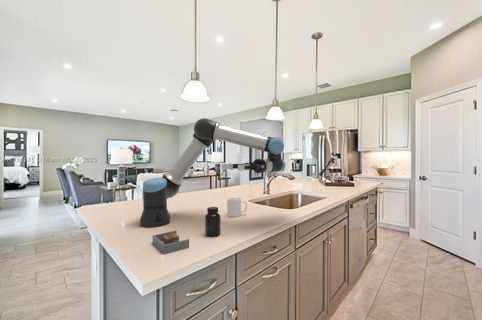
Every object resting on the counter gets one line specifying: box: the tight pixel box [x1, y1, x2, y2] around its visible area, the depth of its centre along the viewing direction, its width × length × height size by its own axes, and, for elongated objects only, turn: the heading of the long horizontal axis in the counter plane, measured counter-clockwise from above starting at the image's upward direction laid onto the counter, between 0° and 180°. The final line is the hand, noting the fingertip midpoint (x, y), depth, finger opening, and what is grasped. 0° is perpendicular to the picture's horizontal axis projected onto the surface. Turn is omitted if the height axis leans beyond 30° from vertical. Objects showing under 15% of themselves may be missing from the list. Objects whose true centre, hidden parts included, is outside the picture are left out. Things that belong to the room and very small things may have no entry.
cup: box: [226, 197, 248, 218], centre depth 131 cm, size 8×12×10 cm
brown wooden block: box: [162, 233, 180, 245], centre depth 88 cm, size 5×5×4 cm
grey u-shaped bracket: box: [152, 230, 190, 255], centre depth 87 cm, size 10×14×3 cm
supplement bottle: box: [204, 206, 221, 238], centre depth 99 cm, size 7×7×12 cm
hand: (229, 167), depth 105 cm, fingers open, 13 cm apart
